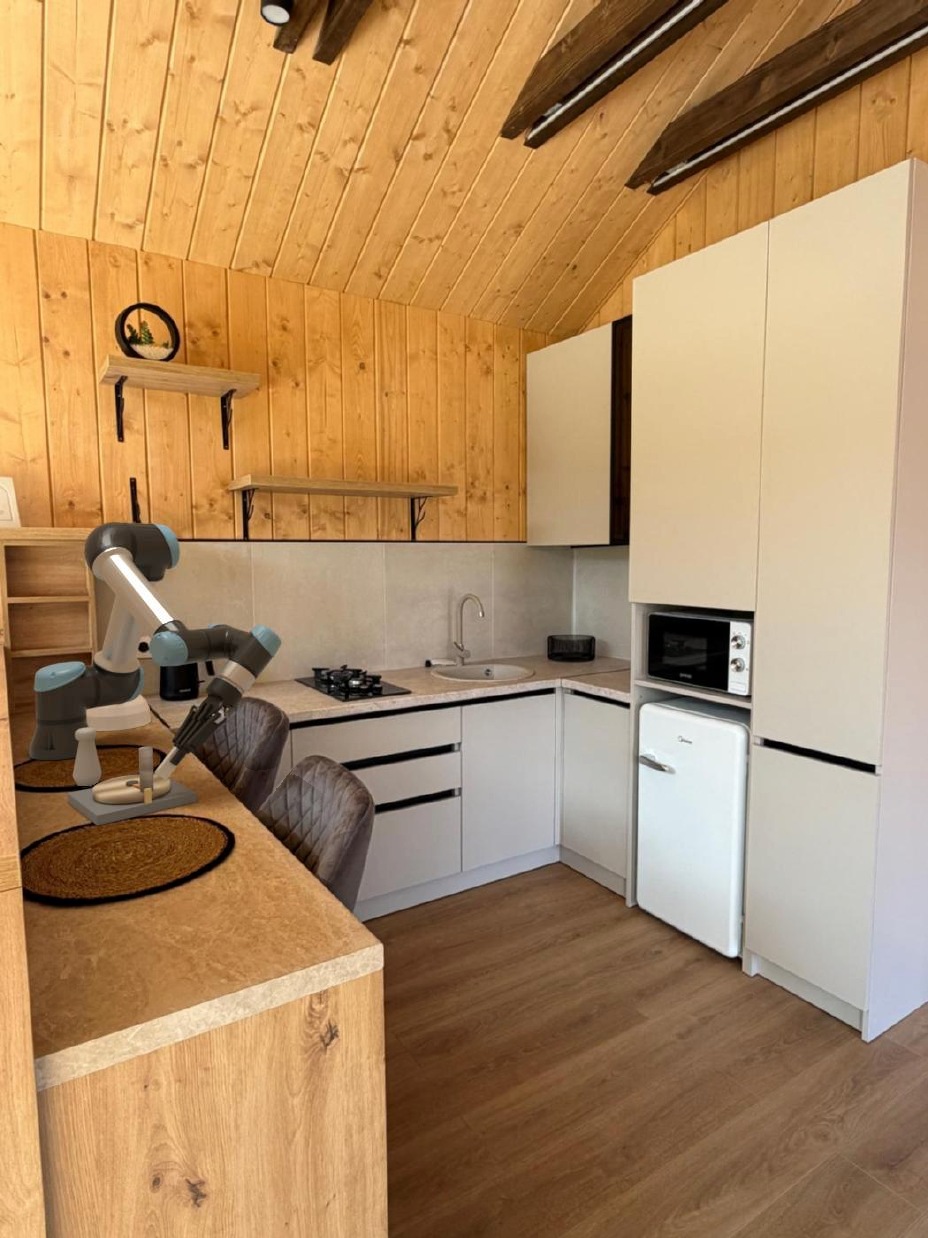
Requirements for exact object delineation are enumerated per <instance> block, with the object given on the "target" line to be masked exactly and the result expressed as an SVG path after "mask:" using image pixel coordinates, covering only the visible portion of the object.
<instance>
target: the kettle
mask: <svg viewBox="0 0 928 1238" xmlns="http://www.w3.org/2000/svg"><path fill="white" fill-rule="evenodd" d="M86 712H87V713H86V714H87V723H88V726H89V728H94V729H95V730H96V732H115V731H116V732H117V731H124V730H131V729H135V728H140V727H143V726H146V725H149V724H150V723H152V715H151V710H150V706H149V704H148V701H147V700H146V699H145V697H143V695H141V694H140V695H139V696H138V697H137V698H136V699H135V700H133V701H130V702H126V703H123V704H119V705H116V704H115V705H109V706H104V707H98V708H92V709H87V710H86Z"/></svg>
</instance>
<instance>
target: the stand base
mask: <svg viewBox="0 0 928 1238" xmlns="http://www.w3.org/2000/svg"><path fill="white" fill-rule="evenodd" d="M168 778H169V779H170V790H169V791H168V792H167V793H166V794H164V795H162V796H159V797H157V798H154V799H152V789H151V788H146V789H144V801H141V802H135V803H125V804H109V803H102V802H98V801H96V800H94V799H93V787H91V788H87V789H81V790H78V791H73V792H68V793H67V803H68V804H69V805H70V806H72V807H73V808H74V809H76V810H77V811H78V812H79V813H81V814H82V815H83V816H84V817H86V818H87V819H88V820H89V821H91V822H92V823H93V824H94V825H96V826H98V827H99V826H103V825H105V824H109V823H114V822H118V821H119V822H120V821H123V820H127V819H131V818H135V817H140V816H144V815H147V814H152V813H156V812H159V811H164V810H169V809H172V808H173V809H174V808H177V807H181V806H185V805H190V804H193V803H197V802H198V800H197V799H198V796H197V795H198V794H197V793H198V792H196V791H194V790H192V789H190V788H188V787H187V786H185V785H183V784H181V783H179V782H178V781H176V780H174V779H172V778H170V776H169V777H168Z"/></svg>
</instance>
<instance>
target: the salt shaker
mask: <svg viewBox="0 0 928 1238" xmlns="http://www.w3.org/2000/svg"><path fill="white" fill-rule="evenodd" d="M97 732H98V731H96V730H95V729H94V728H89V727H87V728H81V729H78V730H77V731H76V732H75V738H76V739H77V740H79V744H78V749H77V755H76V757H75V761H74V767H73V772H72V778H73V779H74V782H75V783H76V785H77V787H78V786H89V787H93V786H92V785H94V786H95V784H96V783H97V784H99V783H100V782H99V781H100V778H101V776H102V773H103V772H102V768H101V765H100V759H99V756H98V751H97V747H96V746H97V745H96V742H94V740H95V739H96V738H97V735H98V733H97ZM97 784H96V785H97Z"/></svg>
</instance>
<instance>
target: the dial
mask: <svg viewBox="0 0 928 1238" xmlns="http://www.w3.org/2000/svg"><path fill="white" fill-rule="evenodd" d="M153 752H154V751H153V747H152V746H142V747H139V748H138V766H139V767H138V769H139V770H138V772H139V774H137V773H136V774H128V775H123V776H117V777H112V778H109V779H107V780H103V781H100V782H98V783H97V784H96V785H94V786H92V788H93V799H94V800H96V801H98V802H102V803H109V804H125V803H135V802H141V801H144V789H146V788H151V789H152V799H154V798H157V797H159V796H162V795H164V794H166V793H167V792H168V791H169V790H170V779H171V778H170V777H169V778H170V779H169V778H168V779H167V780H164V779H162V778H161V777H160V776H158V775H157V774H155V773H154V758H153V756H154V754H153Z"/></svg>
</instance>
